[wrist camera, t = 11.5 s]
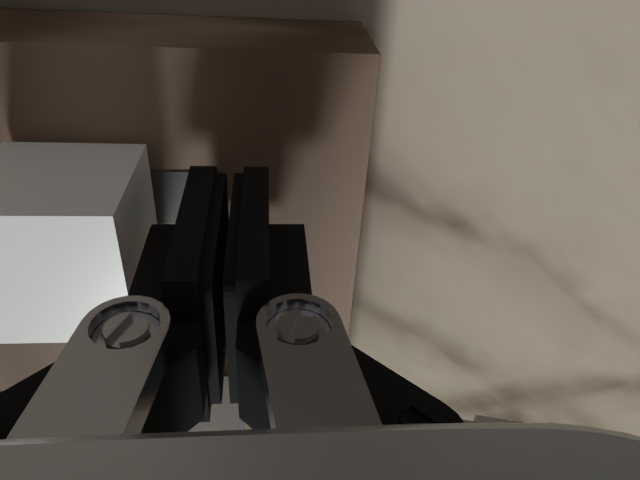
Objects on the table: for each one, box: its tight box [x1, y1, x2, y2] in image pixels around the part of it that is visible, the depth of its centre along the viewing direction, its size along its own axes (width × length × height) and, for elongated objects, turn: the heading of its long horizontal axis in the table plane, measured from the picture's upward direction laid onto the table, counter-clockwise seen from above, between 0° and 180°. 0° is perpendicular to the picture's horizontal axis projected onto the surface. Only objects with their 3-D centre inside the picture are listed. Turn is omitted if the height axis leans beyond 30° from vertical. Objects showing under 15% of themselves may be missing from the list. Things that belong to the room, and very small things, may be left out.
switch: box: [0, 142, 157, 344], centre depth 11 cm, size 3×3×3 cm
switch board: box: [0, 8, 380, 429], centre depth 18 cm, size 18×22×3 cm
